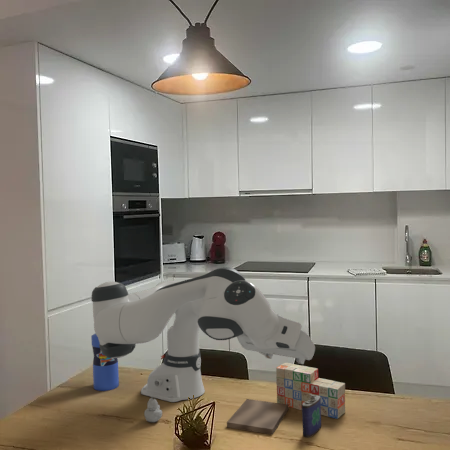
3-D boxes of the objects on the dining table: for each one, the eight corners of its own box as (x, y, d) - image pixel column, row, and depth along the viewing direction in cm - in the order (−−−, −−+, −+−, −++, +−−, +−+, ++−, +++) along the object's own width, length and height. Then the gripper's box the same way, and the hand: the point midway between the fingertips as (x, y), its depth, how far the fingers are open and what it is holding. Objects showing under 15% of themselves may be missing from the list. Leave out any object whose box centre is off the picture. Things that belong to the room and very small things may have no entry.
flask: (315, 423, 145) (314, 388, 144) (324, 426, 143) (323, 390, 142) (300, 436, 137) (300, 398, 137) (310, 439, 135) (309, 401, 135)
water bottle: (92, 383, 182) (90, 317, 180) (118, 380, 184) (115, 314, 183) (93, 392, 173) (91, 322, 172) (120, 389, 175) (118, 320, 174)
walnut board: (226, 427, 144) (226, 422, 144) (247, 403, 160) (246, 398, 160) (272, 434, 138) (272, 429, 138) (288, 409, 155) (288, 404, 155)
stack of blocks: (345, 412, 152) (345, 373, 152) (337, 419, 147) (337, 379, 147) (285, 397, 165) (285, 361, 164) (276, 403, 160) (275, 366, 159)
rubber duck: (140, 424, 147) (140, 398, 147) (150, 414, 153) (149, 389, 153) (157, 426, 145) (156, 399, 145) (166, 416, 152) (165, 391, 151)
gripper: (225, 335, 124) (248, 363, 132) (298, 346, 112) (317, 376, 120) (235, 314, 127) (256, 343, 136) (306, 323, 115) (324, 353, 124)
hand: (285, 358), depth 128 cm, fingers open, 8 cm apart
